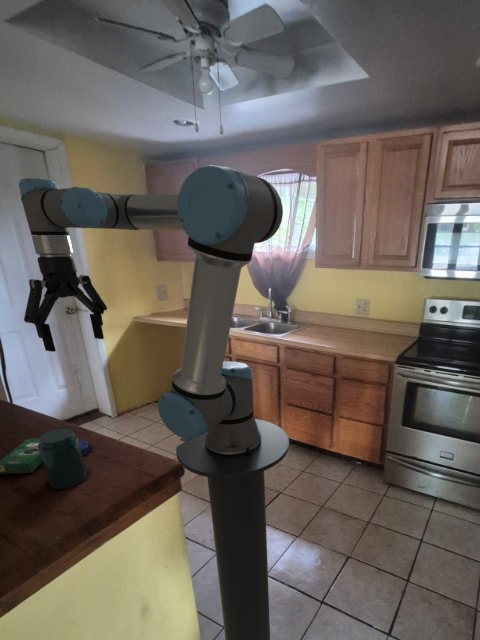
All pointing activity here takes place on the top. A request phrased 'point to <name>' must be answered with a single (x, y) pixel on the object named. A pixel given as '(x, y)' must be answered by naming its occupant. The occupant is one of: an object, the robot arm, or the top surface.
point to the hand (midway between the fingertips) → (76, 344)
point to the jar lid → (84, 447)
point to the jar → (62, 458)
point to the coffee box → (22, 458)
